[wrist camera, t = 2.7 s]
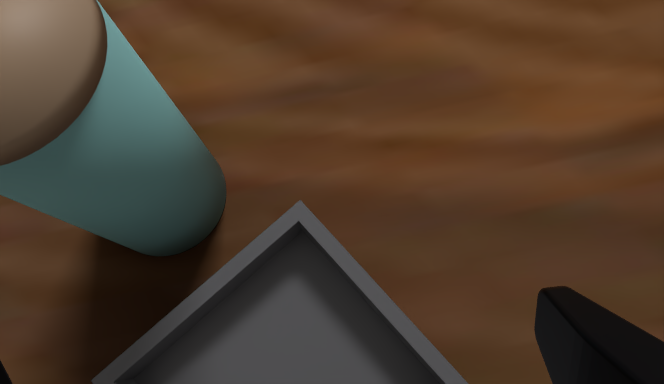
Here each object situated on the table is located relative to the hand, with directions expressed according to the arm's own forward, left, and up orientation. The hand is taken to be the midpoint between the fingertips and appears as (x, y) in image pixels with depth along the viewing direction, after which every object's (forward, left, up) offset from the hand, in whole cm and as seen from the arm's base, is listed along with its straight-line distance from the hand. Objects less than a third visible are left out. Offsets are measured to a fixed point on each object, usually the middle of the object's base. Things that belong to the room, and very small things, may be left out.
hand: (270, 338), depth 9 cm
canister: (-1, +9, -14) cm, 17 cm away
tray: (-2, -1, -14) cm, 14 cm away
